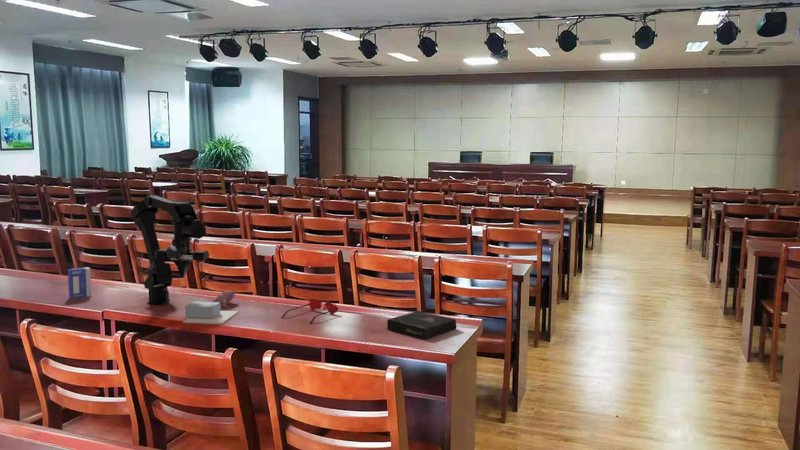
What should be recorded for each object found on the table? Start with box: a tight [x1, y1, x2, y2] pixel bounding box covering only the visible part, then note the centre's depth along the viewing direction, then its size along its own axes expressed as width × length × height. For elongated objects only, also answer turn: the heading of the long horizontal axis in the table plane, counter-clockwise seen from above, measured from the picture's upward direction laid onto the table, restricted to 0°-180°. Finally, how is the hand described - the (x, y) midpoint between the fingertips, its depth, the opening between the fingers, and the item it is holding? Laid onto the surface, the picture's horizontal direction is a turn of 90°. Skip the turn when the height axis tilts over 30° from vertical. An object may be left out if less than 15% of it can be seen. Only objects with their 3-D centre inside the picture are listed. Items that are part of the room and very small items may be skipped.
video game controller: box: [211, 289, 236, 307], centre depth 242 cm, size 10×5×7 cm, turn 161°
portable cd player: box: [386, 310, 457, 341], centre depth 213 cm, size 16×17×4 cm
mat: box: [182, 310, 239, 325], centre depth 224 cm, size 14×16×1 cm
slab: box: [184, 301, 221, 318], centre depth 224 cm, size 4×7×10 cm
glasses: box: [280, 298, 340, 325], centre depth 228 cm, size 14×16×5 cm
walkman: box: [67, 266, 92, 300], centre depth 252 cm, size 8×3×12 cm, turn 134°
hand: (182, 277), depth 234 cm, fingers closed
